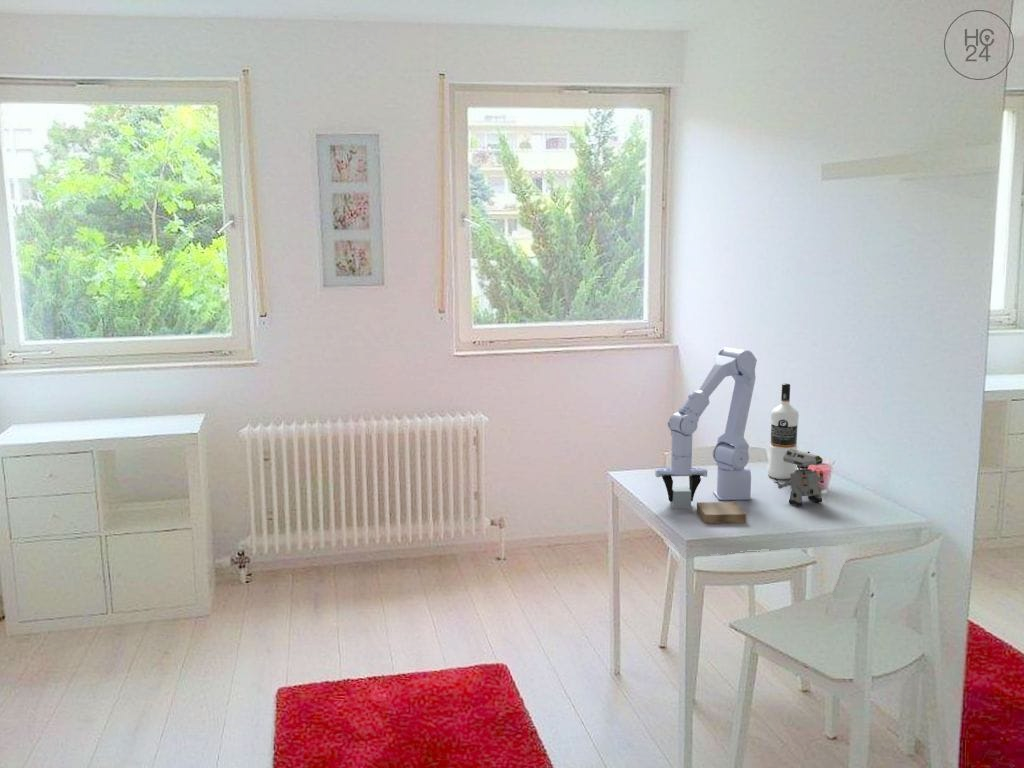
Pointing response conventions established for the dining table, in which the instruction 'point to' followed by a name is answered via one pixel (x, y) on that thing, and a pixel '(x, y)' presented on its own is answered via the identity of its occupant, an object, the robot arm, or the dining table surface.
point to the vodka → (783, 436)
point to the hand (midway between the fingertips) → (680, 500)
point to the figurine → (803, 477)
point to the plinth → (721, 512)
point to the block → (681, 497)
